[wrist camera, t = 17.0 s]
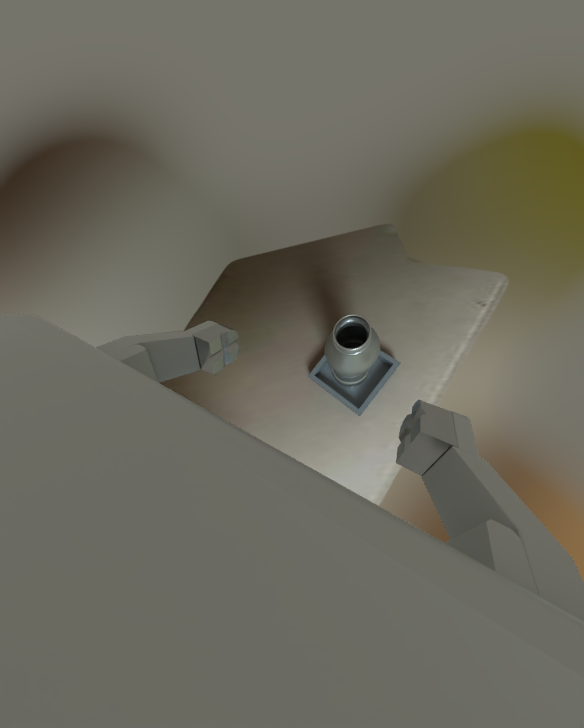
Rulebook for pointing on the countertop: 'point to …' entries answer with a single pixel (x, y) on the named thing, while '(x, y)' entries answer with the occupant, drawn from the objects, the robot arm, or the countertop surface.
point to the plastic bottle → (352, 350)
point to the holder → (360, 394)
